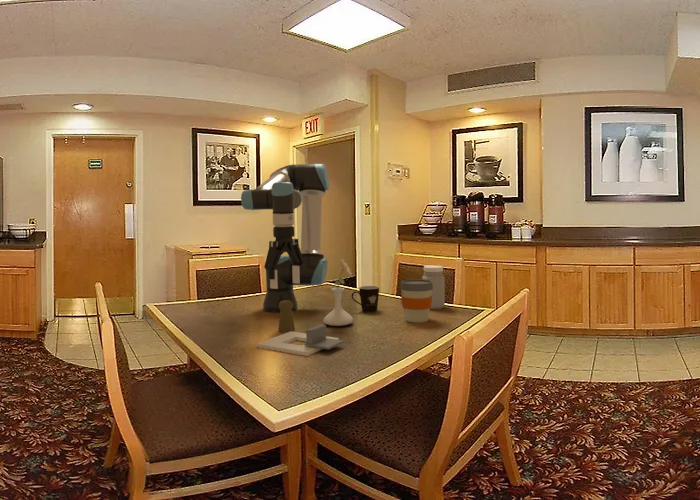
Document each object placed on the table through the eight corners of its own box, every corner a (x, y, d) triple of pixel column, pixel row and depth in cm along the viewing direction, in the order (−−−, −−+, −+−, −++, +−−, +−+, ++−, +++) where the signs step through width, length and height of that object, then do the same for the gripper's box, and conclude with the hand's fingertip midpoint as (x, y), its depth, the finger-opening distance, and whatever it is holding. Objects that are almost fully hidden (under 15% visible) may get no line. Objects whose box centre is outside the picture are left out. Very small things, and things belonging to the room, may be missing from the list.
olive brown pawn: (278, 328, 185) (277, 299, 184) (295, 328, 186) (294, 298, 185) (277, 333, 179) (277, 302, 178) (294, 332, 180) (294, 302, 179)
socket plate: (256, 347, 161) (256, 343, 161) (290, 334, 176) (290, 331, 176) (307, 356, 151) (307, 352, 151) (339, 341, 166) (339, 338, 166)
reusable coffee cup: (412, 324, 188) (412, 285, 186) (394, 318, 199) (394, 281, 197) (439, 320, 193) (439, 282, 192) (420, 314, 204) (420, 278, 203)
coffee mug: (380, 308, 218) (379, 285, 217) (379, 312, 210) (378, 289, 209) (353, 308, 219) (353, 285, 218) (351, 312, 211) (351, 289, 210)
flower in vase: (343, 329, 182) (341, 261, 180) (317, 326, 188) (315, 259, 186) (361, 322, 193) (360, 257, 191) (336, 319, 199) (335, 256, 197)
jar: (419, 309, 216) (419, 267, 214) (425, 304, 225) (424, 264, 223) (442, 310, 212) (442, 268, 211) (446, 306, 221) (446, 265, 220)
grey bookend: (304, 345, 157) (303, 329, 156) (320, 338, 164) (320, 323, 164) (328, 349, 152) (328, 333, 152) (344, 342, 160) (343, 326, 159)
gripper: (269, 227, 167) (271, 291, 169) (312, 224, 188) (313, 281, 189) (252, 227, 171) (254, 290, 173) (295, 224, 191) (297, 280, 193)
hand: (285, 285), depth 181 cm, fingers open, 12 cm apart
